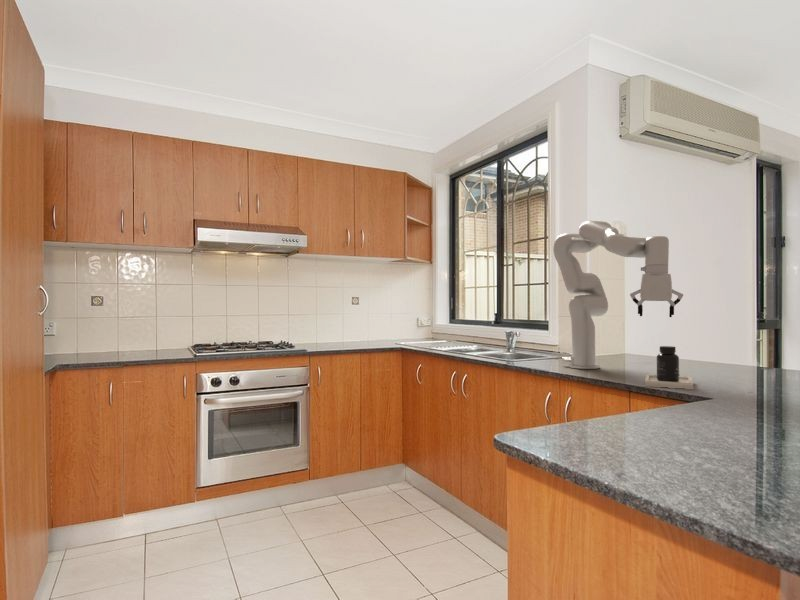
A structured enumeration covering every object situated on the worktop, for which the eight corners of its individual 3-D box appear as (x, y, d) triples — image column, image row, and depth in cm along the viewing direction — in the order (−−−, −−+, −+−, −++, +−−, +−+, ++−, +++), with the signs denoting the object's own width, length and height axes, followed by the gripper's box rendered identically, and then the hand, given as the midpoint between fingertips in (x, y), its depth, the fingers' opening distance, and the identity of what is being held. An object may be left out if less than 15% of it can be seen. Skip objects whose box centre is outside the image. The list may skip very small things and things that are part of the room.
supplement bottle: (682, 382, 160) (682, 347, 160) (660, 382, 162) (660, 347, 162) (675, 379, 167) (674, 345, 167) (654, 379, 168) (653, 345, 168)
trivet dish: (645, 386, 162) (645, 380, 162) (646, 380, 174) (646, 374, 174) (693, 389, 155) (693, 383, 155) (691, 382, 167) (691, 377, 167)
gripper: (629, 270, 175) (628, 316, 176) (683, 269, 167) (682, 318, 167) (631, 270, 182) (630, 315, 183) (683, 270, 173) (682, 316, 174)
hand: (655, 316), depth 175 cm, fingers open, 9 cm apart
